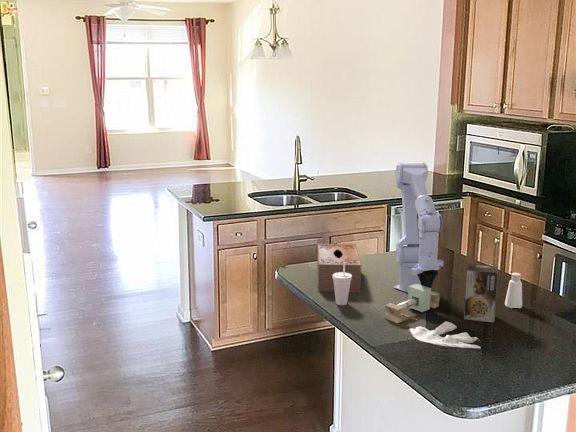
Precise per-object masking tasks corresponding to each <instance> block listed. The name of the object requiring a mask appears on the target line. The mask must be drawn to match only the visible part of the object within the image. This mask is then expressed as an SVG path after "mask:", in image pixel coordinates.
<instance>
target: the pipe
mask: <svg viewBox="0 0 576 432" xmlns="http://www.w3.org/2000/svg"><path fill="white" fill-rule="evenodd" d="M418 303H419V298H413V299H411V300H408V299H407V300H406V301H402V302H401V303H399V304H398V303H397V304H396V305H397V306H400V307H403V310H407V309H408V308H409V307H411V306H413V305H416V304H418ZM390 308H391V307H390ZM389 310H390V309H389ZM391 310H394V309H392V308H391ZM393 313H394V311H393ZM393 313H392V312H391V314H393Z"/></svg>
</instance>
